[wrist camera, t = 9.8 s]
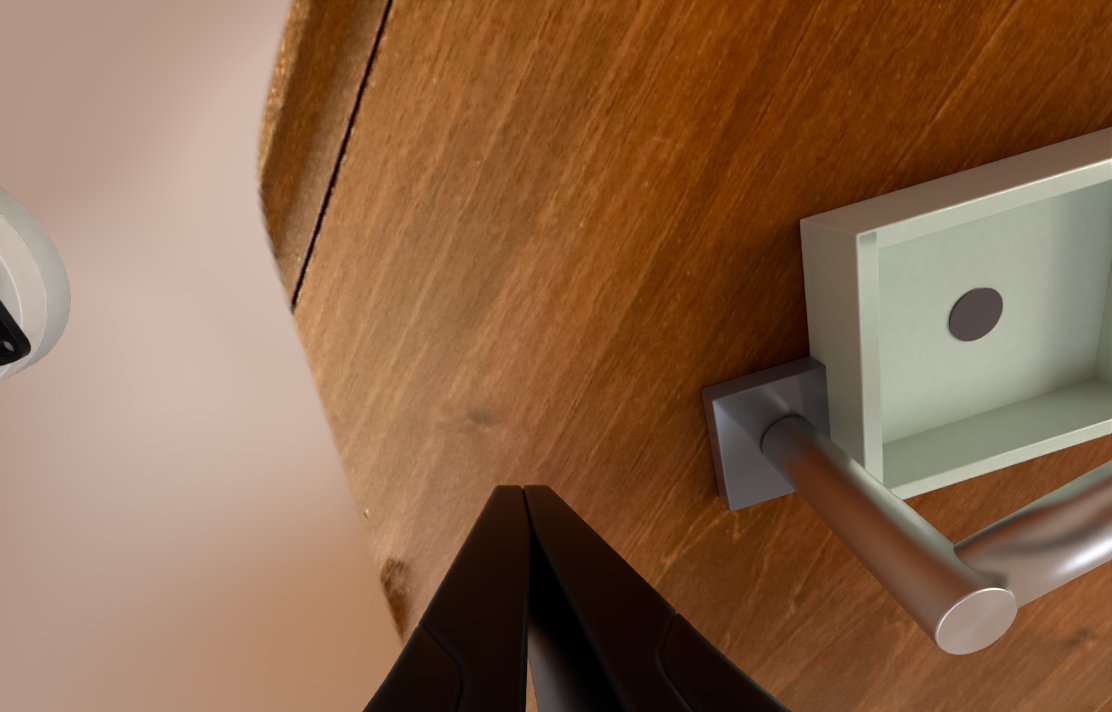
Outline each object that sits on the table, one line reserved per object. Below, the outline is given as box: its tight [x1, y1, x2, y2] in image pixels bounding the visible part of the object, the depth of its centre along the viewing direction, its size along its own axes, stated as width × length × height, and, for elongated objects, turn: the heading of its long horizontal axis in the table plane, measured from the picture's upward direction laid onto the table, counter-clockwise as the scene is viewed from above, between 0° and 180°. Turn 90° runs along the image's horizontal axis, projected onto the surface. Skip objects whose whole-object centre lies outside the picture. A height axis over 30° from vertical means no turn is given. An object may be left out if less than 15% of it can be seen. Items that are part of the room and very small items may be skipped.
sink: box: [701, 127, 1112, 512], centre depth 23 cm, size 19×12×4 cm, turn 105°
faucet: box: [762, 417, 1112, 655], centre depth 19 cm, size 13×2×10 cm, turn 120°
